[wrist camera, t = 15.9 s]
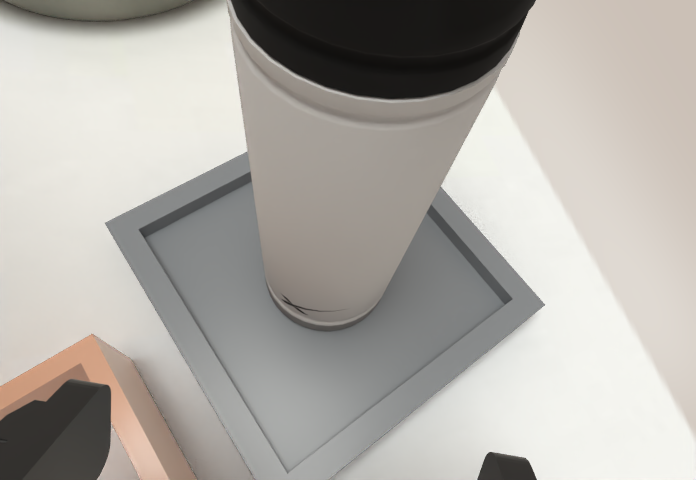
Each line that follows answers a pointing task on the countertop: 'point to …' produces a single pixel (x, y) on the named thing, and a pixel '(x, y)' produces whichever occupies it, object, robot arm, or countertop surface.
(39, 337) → the countertop surface
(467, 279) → the tray
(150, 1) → the cake pan
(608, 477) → the countertop surface
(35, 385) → the holder
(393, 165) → the travel mug
